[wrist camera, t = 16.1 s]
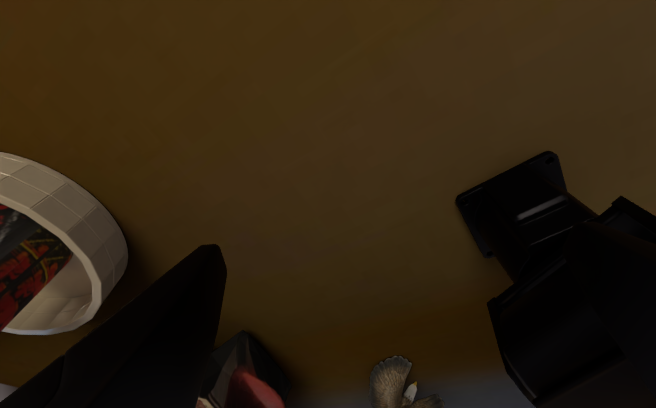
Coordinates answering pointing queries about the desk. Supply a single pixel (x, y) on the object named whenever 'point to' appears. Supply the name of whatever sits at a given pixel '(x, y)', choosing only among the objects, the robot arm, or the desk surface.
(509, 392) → the desk surface
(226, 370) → the baking dish
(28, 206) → the pan
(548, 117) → the desk surface
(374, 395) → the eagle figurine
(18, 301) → the deodorant
